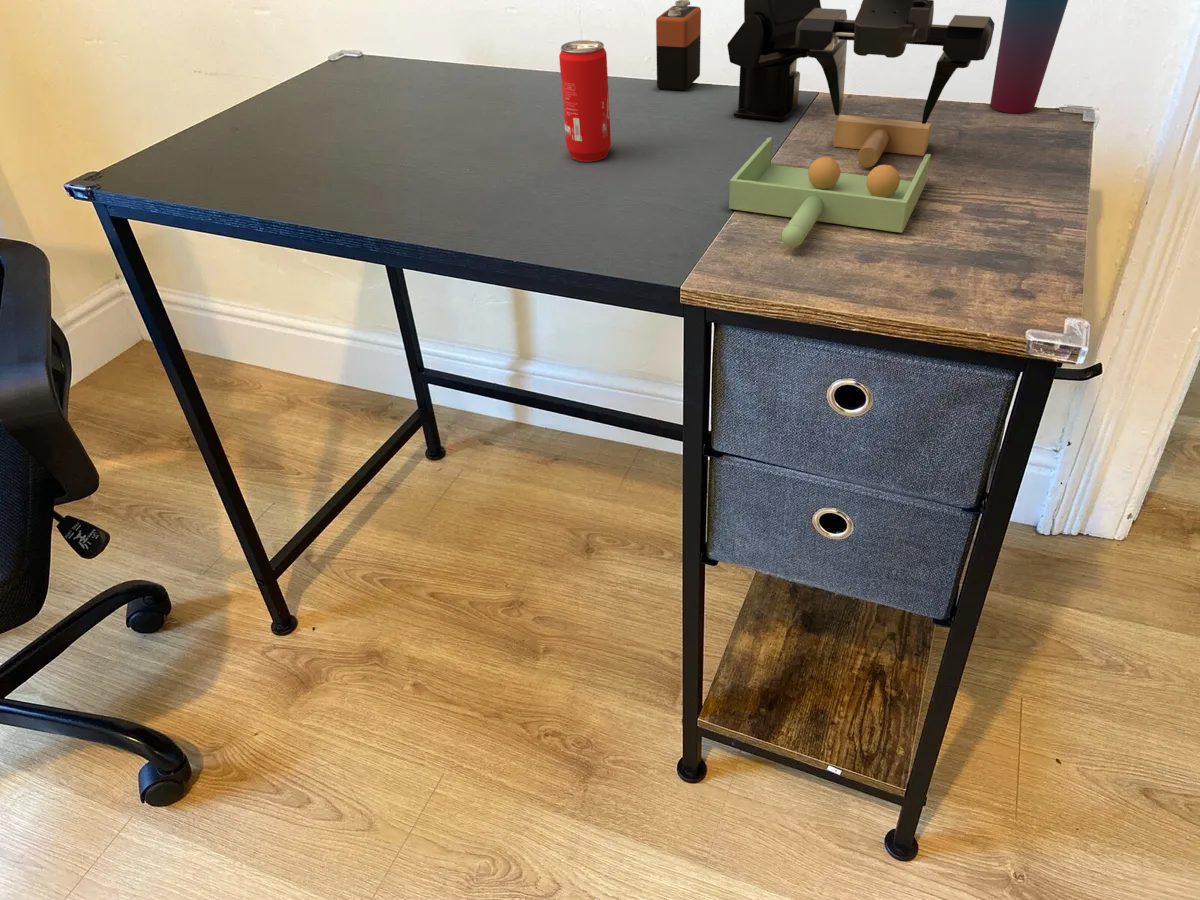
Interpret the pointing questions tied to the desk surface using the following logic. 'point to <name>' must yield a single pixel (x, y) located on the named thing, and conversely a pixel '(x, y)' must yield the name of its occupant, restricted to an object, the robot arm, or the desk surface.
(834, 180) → the cork ball
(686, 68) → the battery
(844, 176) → the dustpan
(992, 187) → the desk surface
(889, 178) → the cork ball
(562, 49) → the beverage can
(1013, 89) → the cup
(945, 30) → the robot arm
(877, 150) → the brush
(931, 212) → the desk surface
